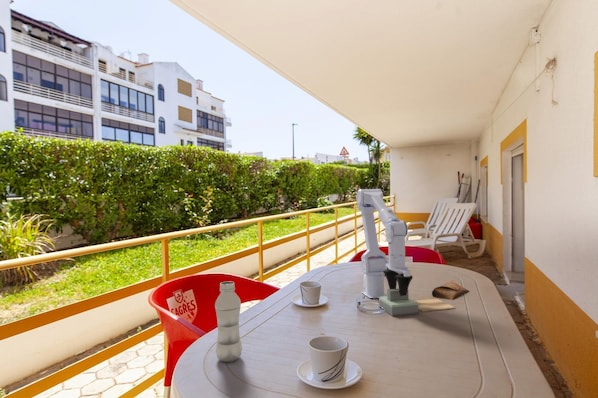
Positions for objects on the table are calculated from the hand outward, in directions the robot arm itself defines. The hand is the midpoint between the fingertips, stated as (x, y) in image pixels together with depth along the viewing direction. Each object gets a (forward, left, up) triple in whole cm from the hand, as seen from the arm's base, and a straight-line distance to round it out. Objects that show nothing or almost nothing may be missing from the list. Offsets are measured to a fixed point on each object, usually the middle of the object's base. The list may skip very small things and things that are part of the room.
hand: (397, 292), depth 126 cm
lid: (0, 0, -4) cm, 4 cm away
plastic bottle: (+22, -60, -7) cm, 64 cm away
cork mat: (-2, +14, -6) cm, 15 cm away
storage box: (0, 0, -6) cm, 6 cm away
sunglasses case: (-12, +30, -7) cm, 34 cm away
